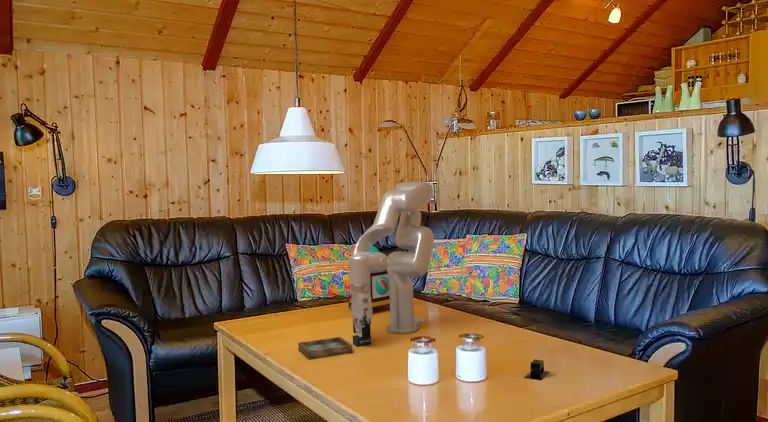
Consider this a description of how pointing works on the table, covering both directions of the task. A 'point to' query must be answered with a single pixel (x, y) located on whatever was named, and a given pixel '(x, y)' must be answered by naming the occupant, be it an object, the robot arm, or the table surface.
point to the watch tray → (325, 348)
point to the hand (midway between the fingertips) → (361, 334)
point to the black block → (537, 370)
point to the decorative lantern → (377, 287)
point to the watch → (360, 335)
